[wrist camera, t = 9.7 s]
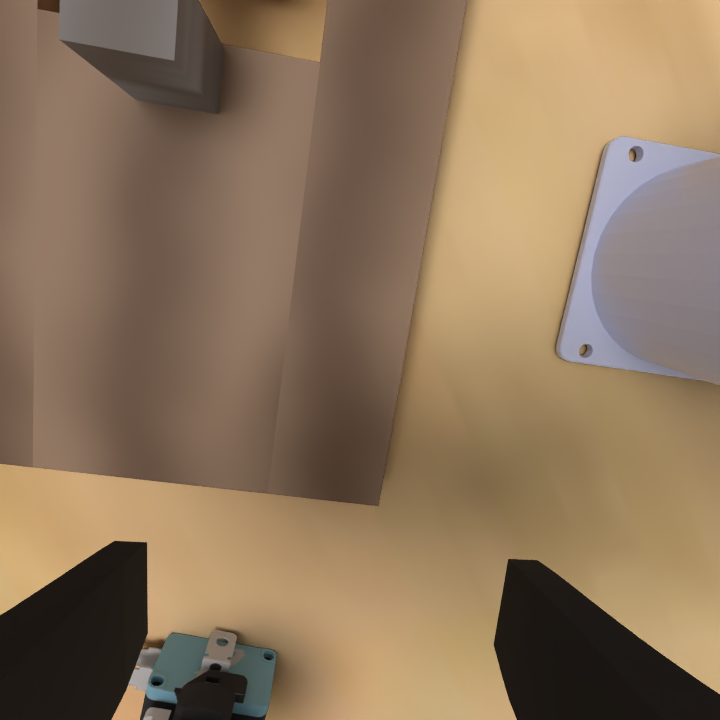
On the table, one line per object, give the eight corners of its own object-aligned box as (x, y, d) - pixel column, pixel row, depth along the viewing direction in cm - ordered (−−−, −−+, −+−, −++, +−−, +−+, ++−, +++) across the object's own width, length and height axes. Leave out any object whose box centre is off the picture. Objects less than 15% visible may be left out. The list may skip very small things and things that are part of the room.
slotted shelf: (498, -251, 14) (613, -605, 8) (373, 480, 19) (391, 579, 13) (-67, -393, 13) (-399, -929, 7) (-46, 431, 18) (-231, 517, 12)
